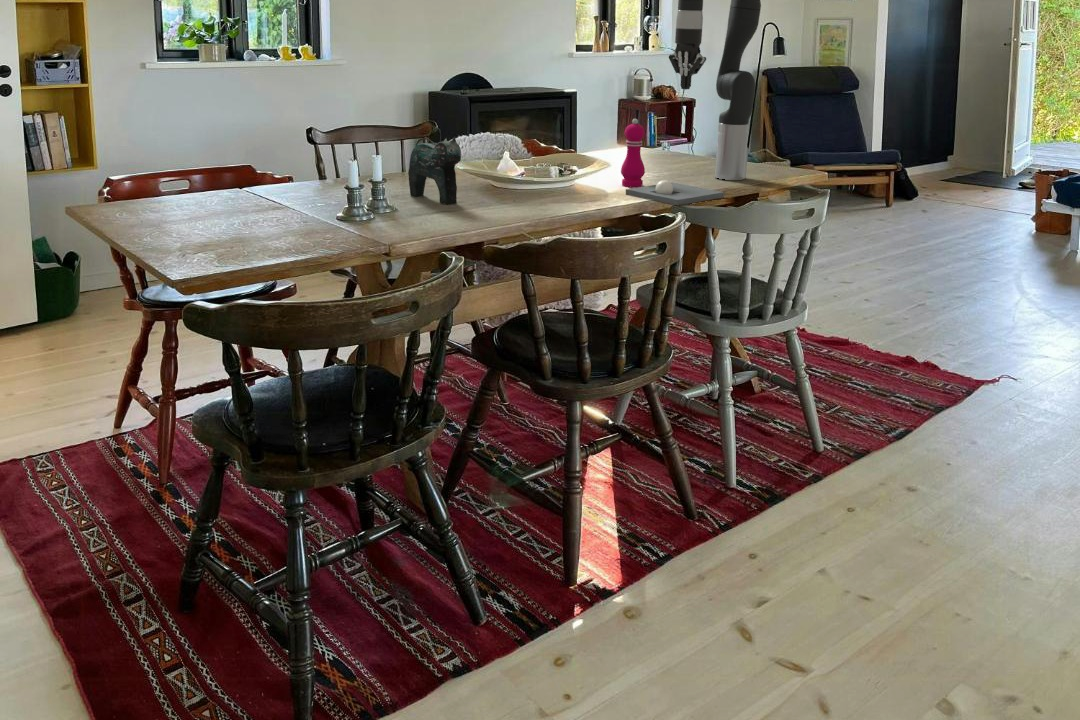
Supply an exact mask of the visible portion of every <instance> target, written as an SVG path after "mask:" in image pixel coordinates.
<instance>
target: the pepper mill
mask: <svg viewBox="0 0 1080 720" xmlns="http://www.w3.org/2000/svg"><path fill="white" fill-rule="evenodd" d="M645 134H646V132H645V129H644V126H642V125H641V124H639V120H638V119H637V118H633V119H632V121H631V124H629V125H627V126H626V127H625V130H624V137H625V138H626V140H625V146H626V148H627V149H626V155H625V159H624V160H623V163H622V165H621V167H620V168H621V169H620V174H621V175H622V177H623V178H622V180H621V185H622V186H623V187H625V188H638V187H644V186H643V184H644V182H643V179H642V177H644V176H645V174H646V171H645V169H646V168H645V164H644V162H643V159H642V155H641V147H642V146H643V142H644V141H643V138H644V137H645Z"/></svg>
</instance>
